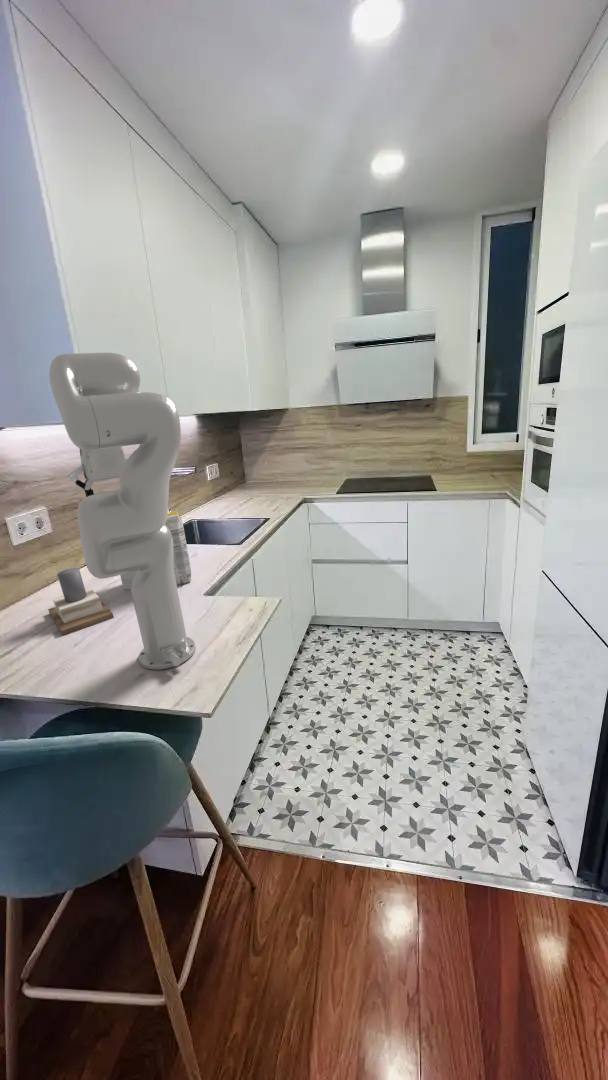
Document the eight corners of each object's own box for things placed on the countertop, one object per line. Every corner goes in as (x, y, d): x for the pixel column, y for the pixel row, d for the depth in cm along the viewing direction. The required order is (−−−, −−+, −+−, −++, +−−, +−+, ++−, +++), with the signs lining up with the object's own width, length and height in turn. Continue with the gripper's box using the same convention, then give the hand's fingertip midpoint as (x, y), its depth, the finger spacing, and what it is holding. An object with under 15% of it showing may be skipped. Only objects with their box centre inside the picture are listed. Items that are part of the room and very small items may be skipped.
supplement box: (143, 589, 139) (135, 552, 135) (122, 589, 141) (114, 552, 137) (155, 580, 146) (147, 544, 142) (135, 580, 148) (127, 544, 144)
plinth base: (113, 617, 122) (109, 599, 121) (62, 635, 115) (57, 616, 113) (96, 598, 136) (91, 582, 134) (49, 613, 128) (44, 596, 127)
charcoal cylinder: (88, 597, 123) (81, 571, 120) (67, 604, 120) (59, 577, 117) (84, 592, 127) (77, 566, 125) (63, 598, 124) (55, 572, 122)
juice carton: (191, 574, 148) (178, 505, 141) (193, 582, 141) (181, 510, 134) (162, 580, 146) (148, 510, 138) (164, 589, 138) (149, 515, 131)
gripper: (63, 437, 102) (81, 509, 107) (136, 429, 112) (150, 495, 117) (55, 438, 107) (73, 506, 112) (126, 430, 118) (139, 492, 123)
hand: (112, 500), depth 115 cm, fingers open, 9 cm apart
